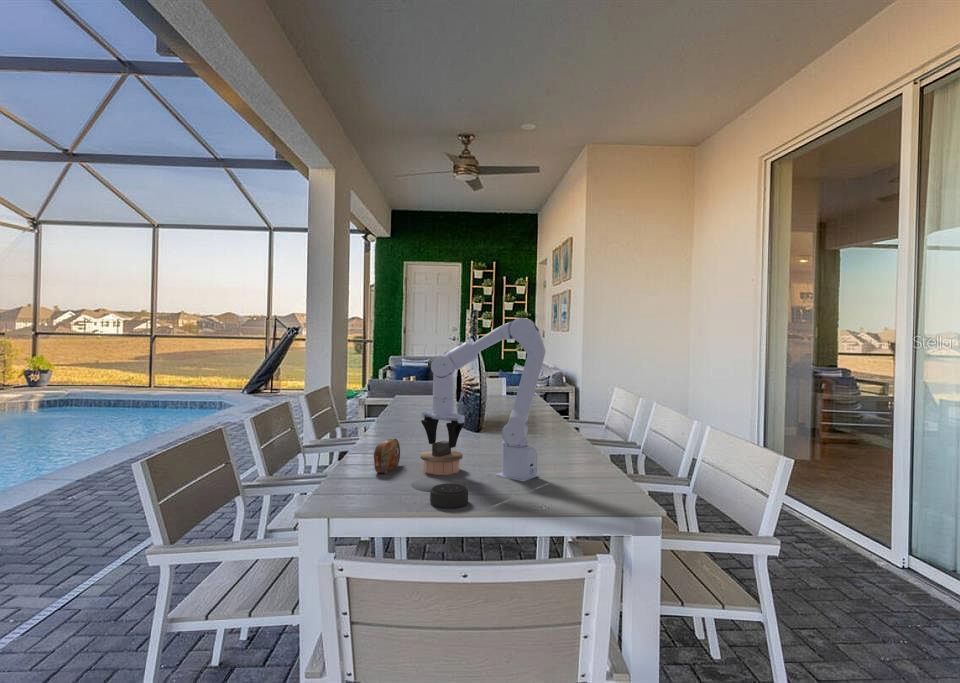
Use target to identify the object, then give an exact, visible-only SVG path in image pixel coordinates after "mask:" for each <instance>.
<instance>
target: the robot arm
mask: <svg viewBox="0 0 960 683" xmlns="http://www.w3.org/2000/svg"><path fill="white" fill-rule="evenodd" d="M503 340H506V341H507V340H515V341H516V342H517V343H519V345H521V347H522V348H523V349H524V351H525V353H526V359H525V363H524V366H523V370H522V374H521V377H520V381H519V385H518V389H517V391H516V396H515V399H514V403H513V406H512V410H511V413H510V414H509V419H508V422H507V423H506V424H505V425H504V426H503V428H502V430H501V438H502V440H503V441H502V442H501V443H502V445H501V472H497V473H495V474H494V475H495V476H496V477H499V478H503V479H504V478H505V479H509V480H514V481H520V482H526V481H529V480H532V479H534V478H536V477H537V478H538V477H539V474H538V452H537V449H536V448H535V447H532V446H530V445H529V441H528V440H527V438H526V436H527V435H528V433H529V425H528V424H529V423H528V421H529V416H530V411H531V407H532V403H533V399H534V396H535V392H536V389H537V385H538V381H539V377H540V374H541V370H542V366H543V364H544V363H543V362H544V359H545V356H546V348H545V345H544V342H543V339H542V336H541V332H540V329H539V327H538V326H537V325H536V324H535V322H534V321H533V320H532V319H529V318H525V317H518V318H515V319H514V320H512V321H508V322H507V323H504V324H502V325H500V326H498V327H496V328H494V329H492V331H490V332H487V333H486V334H485V335H483V336H482V337H480V338H479V339H477V340H475V341H474V342H471V341H464V342H463V341H460V342H459V343H457V345H458V346H456V347H455V348H452V349H450V350H449V351H448V350H445V351H444V352H443V355H438V356H436V357H435V358H434V359H433V360H432V362H431V363H430V364H431V365H430V369H431V372H432V373H433V382H432V410H422V411H421V418H422V420H421V424H422V426H423V428H424V430H425V434H426V436H427V440H428V444H429V445H432V443H436V441H437V429H438V424H439V420H440V421H445V422H446V424H445V425H446V429H447V433H448V442H449V448H451V449H452V448H456V446H457V442H458V439H459V436H460V433H461V431H462V429H463V427H464V426H465V418H466V417H465V415H462V414H459V413H454V409H453V408H454V372H455V371H457V370H459V369H461V368H463V367H465V366H467V365H468V364H470V363H472V362H473V361H475V360H477V357H478V355H479V353H480V352H482V351H483V350H486V349H487V348H489V347H491V346H494V345H495V344H497V343H499V342H501V341H503Z"/></svg>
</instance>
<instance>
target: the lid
mask: <svg viewBox="0 0 960 683" xmlns="http://www.w3.org/2000/svg"><path fill="white" fill-rule="evenodd" d="M419 456H420V459H421V460H422V461H424V460H425V461H430V462H453V461H458V460H460V461H461V460H462V459H463V454H462V452H460V451H455V450H452V448H449V440H448V441H447V440H441V441H437V442H435V443H432V444H431V450H426V451H422V452H421V453H420V455H419Z"/></svg>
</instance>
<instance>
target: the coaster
mask: <svg viewBox="0 0 960 683" xmlns="http://www.w3.org/2000/svg"><path fill="white" fill-rule="evenodd" d="M440 484H459V485H462V486H465V487H466V483H465V482H464V481H462V480H460V479H457V478H453V477H442V476H441V477H426V478H420V479H417V480H414V481H413V482H412V483H411V484H410V486H411V488H413V489H415V490H416V491H420V492H426V493H430V490H431V489H432V488H433V487H434V486H436V485H440Z"/></svg>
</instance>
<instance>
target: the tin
mask: <svg viewBox="0 0 960 683" xmlns="http://www.w3.org/2000/svg"><path fill="white" fill-rule="evenodd" d="M400 457H401V447H400V442H399V440H398V439H397V438H389V439H385V440H384V441H382V442H380V443H379V444H377V445H376V446H375V448H374V452H373V458H374V459H373V460H374V470H375V472H376V473H377V474H387V473H388V472H390V471H391V470H393V469H395V468H397V467H398V465H399V462H400Z"/></svg>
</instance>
